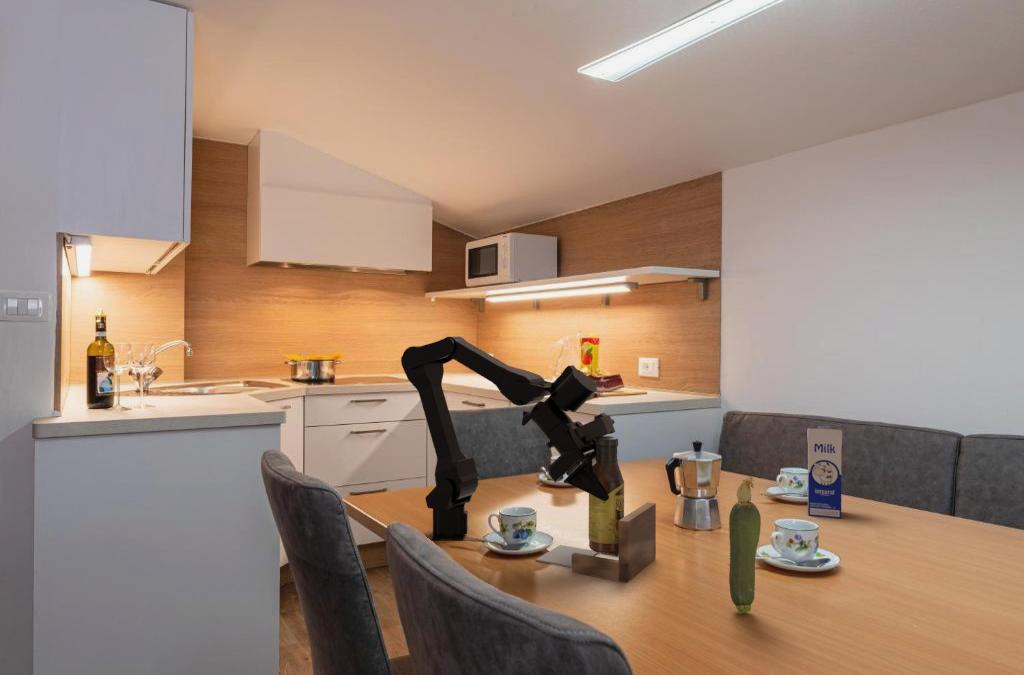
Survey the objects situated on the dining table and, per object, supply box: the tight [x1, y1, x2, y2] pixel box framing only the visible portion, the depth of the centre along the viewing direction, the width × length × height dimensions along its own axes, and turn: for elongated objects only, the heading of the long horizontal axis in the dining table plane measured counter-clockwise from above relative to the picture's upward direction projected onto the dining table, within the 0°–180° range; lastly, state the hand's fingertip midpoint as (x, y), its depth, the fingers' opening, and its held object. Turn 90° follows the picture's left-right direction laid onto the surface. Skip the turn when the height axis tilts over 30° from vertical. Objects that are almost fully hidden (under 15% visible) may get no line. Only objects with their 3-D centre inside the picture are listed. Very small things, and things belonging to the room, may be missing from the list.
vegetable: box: [728, 476, 762, 615], centre depth 102 cm, size 4×4×20 cm
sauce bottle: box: [588, 435, 625, 554], centre depth 123 cm, size 7×6×20 cm
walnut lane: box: [571, 502, 657, 583], centre depth 122 cm, size 10×14×10 cm
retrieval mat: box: [535, 544, 600, 569], centre depth 127 cm, size 8×10×1 cm
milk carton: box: [806, 425, 843, 519], centre depth 159 cm, size 7×7×20 cm
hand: (614, 496), depth 123 cm, fingers closed on sauce bottle, 6 cm apart
